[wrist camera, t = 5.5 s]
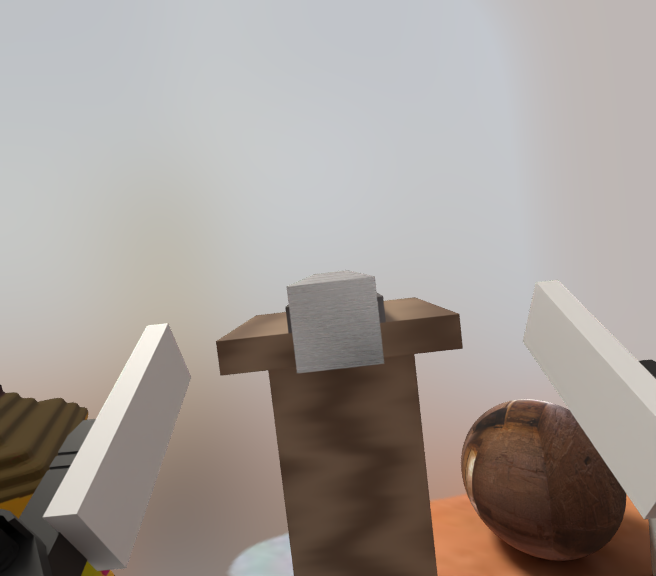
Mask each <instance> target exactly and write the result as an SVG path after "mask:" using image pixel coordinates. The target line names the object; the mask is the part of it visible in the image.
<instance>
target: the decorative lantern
mask: <svg viewBox="0 0 656 576" xmlns="http://www.w3.org/2000/svg"><path fill="white" fill-rule="evenodd" d="M87 418H88V410H87V408H85V407H79V405H78V404H77V403H66V402H65V401H64V399H62V398H55V399H49V400H44V401H40V402H37V401H36V400H35V399H34V398H21V397H20V396H19V394H18V393H5V392H3V390H2V386H1V385H0V509H4V510H8V511H11V512H12V513H13V514H14V515H15V516H16V517H17V518H18V519H19V517H20V515H21V514H22V512H23V510H24V509H25V507H26V505H27V504H28V502H29V500H30V499H31V497H32V495H33V494H34V492H35V490H36V488H37V487H38V485H39V483H40V482H41V480H42V478H43V477H44V475H45V473H46V472H47V471H49V469H50V468H49V467H50V465H51V463H52V462H53V460H54V458H55V456H58V451H59V450H60V448H61V446H62V445H63V443H64V441H65V440H66V438H67V436H68V435H69V434H70V433H71V432H72V431H73V430H74V429H75V428H76V427H77V426H78V425H79V424H80V423H81V422H82V421H83V420H87ZM81 576H115V575H114V574H113V573H112V571H111V570H102V571H97V570H96V569H95V568H94V567H93V566H92V565H91V564H90V563H89V562H88V561H87V563H86V565H85V567H84V570H83V572H82V575H81Z"/></svg>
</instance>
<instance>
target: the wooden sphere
mask: <svg viewBox="0 0 656 576" xmlns="http://www.w3.org/2000/svg"><path fill="white" fill-rule="evenodd" d="M461 470H462V478H463V482H464V486H465V489H466V492H467V495H468V497H469V499H470V502H471V504H472V505H473V507H474V509H475V511H476V512H477V514H478V515H479V516H480V518H481V519H482V520H483V522H484V523H485V524H486V525H487V526H488V527H489V528H490V529H491V530H492V531H493V532H494V533H495V534H496V535H497V536H498V537H499V538H501V539H502V540H503V541H505V542H506V543H508V544H509V545H511V546H512V547H514V548H516V549H518V550H520V551H522V552H524V553H527V554H529V555H532V556H535V557H539V558H543V559H548V560H573V559H578V558H582V557H585V556H588V555H590V554H592V553H594V552H596V551H597V550H599V549H600V548H602V547H603V546H604V545H606V544H607V543H608V542H609V541H610V540H611V538H612V537H613V536H614V535H615V533H616V532H617V530H618V528H619V526H620V524H621V522H622V519H623V516H624V512H625V507H626V492H625V491H624V489H623V488H622V486H621V485H620V483H619V482H618V480H617V479H616V477H615V476H614V475H613V473H612V472H611V470H610V469H609V467H608V466H607V464H606V463H605V461H604V460H603V458H602V457H601V455H600V454H599V453H598V451H597V450H596V448H595V447H594V445H593V444H592V442H591V441H590V439H589V438H588V436H587V435H586V433H585V432H584V430H583V429H582V428H581V426H580V425H579V423H578V422H577V420H576V419H575V417H574V416H573V414H572V413H571V411H570V410H568V409H566V408H564V407H561V406H559V405H556V404H553V403H550V402H546V401H540V400H532V399H525V400H524V399H522V400H513V401H509V402H505V403H502V404H499V405H497V406H495V407H493V408H491V409H490V410H488V411H487V412H485V413H484V414H483V415H482V416H481V417H479V419H477V421H476V422H475V423H474V424H473V426H472V427H471V429H470V431H469V432H468V434H467V436H466V439H465V442H464V445H463V449H462V456H461Z"/></svg>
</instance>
